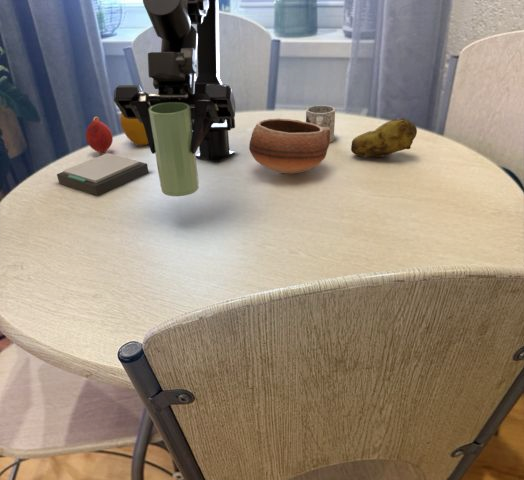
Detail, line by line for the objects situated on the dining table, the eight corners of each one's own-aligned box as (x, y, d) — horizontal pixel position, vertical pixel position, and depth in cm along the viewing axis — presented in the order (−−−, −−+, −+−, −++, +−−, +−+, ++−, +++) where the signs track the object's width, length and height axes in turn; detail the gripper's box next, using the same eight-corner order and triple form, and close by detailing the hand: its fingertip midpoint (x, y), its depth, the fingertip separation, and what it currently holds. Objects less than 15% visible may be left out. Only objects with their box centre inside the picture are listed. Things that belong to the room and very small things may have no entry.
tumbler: (185, 178, 94) (175, 99, 85) (206, 188, 90) (197, 107, 82) (154, 188, 91) (140, 108, 82) (174, 199, 87) (162, 116, 79)
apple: (143, 135, 133) (137, 97, 127) (168, 140, 129) (162, 101, 123) (117, 145, 127) (109, 106, 122) (142, 151, 123) (135, 111, 118)
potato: (359, 147, 121) (362, 110, 115) (416, 154, 116) (422, 116, 111) (347, 159, 115) (349, 121, 110) (405, 168, 110) (411, 128, 105)
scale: (110, 162, 119) (108, 150, 117) (148, 172, 113) (146, 160, 111) (59, 183, 110) (55, 171, 108) (97, 196, 104) (94, 183, 103)
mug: (306, 134, 129) (307, 105, 125) (334, 134, 128) (335, 105, 124) (303, 148, 121) (303, 118, 117) (332, 149, 120) (334, 118, 116)
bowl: (341, 168, 111) (344, 118, 105) (292, 192, 102) (292, 139, 96) (285, 152, 120) (284, 105, 113) (235, 173, 111) (232, 123, 105)
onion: (109, 158, 121) (101, 121, 115) (85, 157, 122) (76, 120, 116) (119, 149, 125) (112, 113, 120) (96, 148, 126) (88, 113, 121)
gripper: (103, 27, 79) (96, 127, 78) (227, 24, 77) (221, 127, 76) (129, 72, 90) (123, 161, 89) (237, 70, 88) (233, 161, 87)
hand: (172, 152), depth 85 cm, fingers closed on tumbler, 6 cm apart
